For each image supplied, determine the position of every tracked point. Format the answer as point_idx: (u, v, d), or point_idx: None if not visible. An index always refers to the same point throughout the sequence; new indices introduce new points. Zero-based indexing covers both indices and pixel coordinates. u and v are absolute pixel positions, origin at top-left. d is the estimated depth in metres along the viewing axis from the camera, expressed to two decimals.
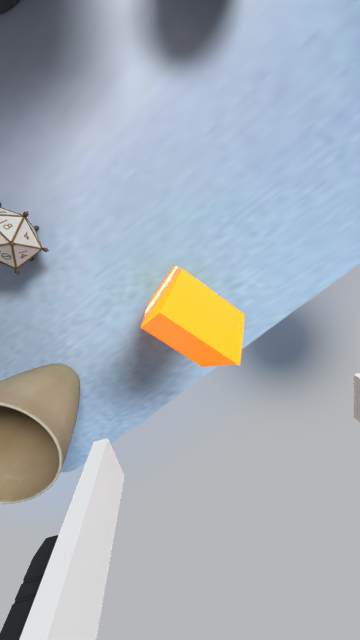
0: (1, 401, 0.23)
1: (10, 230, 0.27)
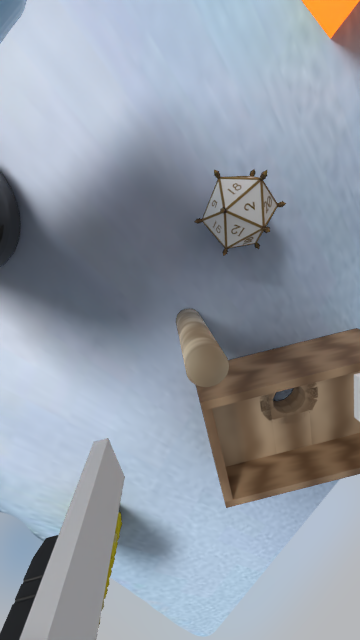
0: None
1: (241, 183, 0.21)
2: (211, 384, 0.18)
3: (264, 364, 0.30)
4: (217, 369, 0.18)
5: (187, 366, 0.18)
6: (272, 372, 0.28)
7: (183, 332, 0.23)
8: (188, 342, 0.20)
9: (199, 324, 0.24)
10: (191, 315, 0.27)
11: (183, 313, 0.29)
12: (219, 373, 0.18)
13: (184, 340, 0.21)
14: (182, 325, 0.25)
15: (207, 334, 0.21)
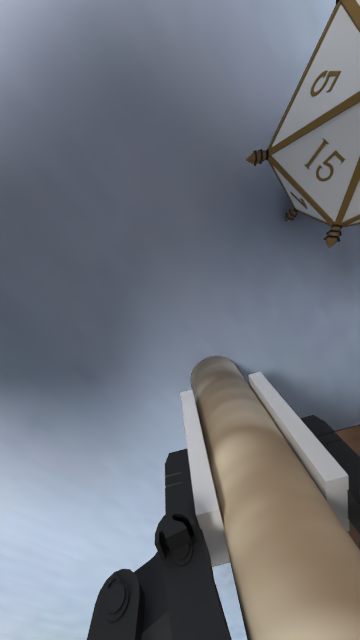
0: None
1: None
2: None
3: None
4: None
5: None
6: None
7: (227, 474, 0.08)
8: (278, 616, 0.05)
9: (271, 445, 0.08)
10: (231, 387, 0.12)
11: (208, 373, 0.14)
12: None
13: (244, 548, 0.06)
14: (215, 426, 0.10)
15: (340, 547, 0.05)
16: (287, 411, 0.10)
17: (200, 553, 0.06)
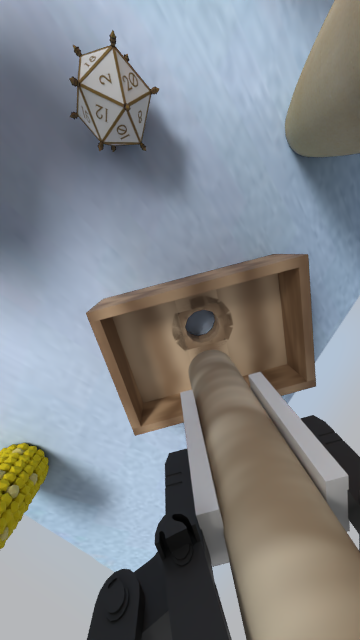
0: None
1: (97, 55, 0.20)
2: None
3: (168, 285, 0.29)
4: None
5: None
6: (170, 287, 0.27)
7: (218, 446, 0.09)
8: (254, 544, 0.06)
9: (257, 422, 0.09)
10: (224, 376, 0.13)
11: (204, 364, 0.15)
12: None
13: (230, 500, 0.07)
14: (209, 409, 0.11)
15: (307, 496, 0.07)
16: (288, 411, 0.10)
17: (200, 553, 0.06)
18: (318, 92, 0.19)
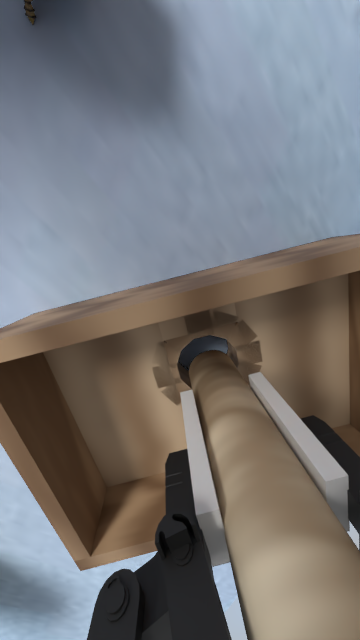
0: None
1: None
2: None
3: (144, 290, 0.15)
4: None
5: None
6: (142, 295, 0.13)
7: (219, 447, 0.09)
8: (255, 545, 0.06)
9: (258, 423, 0.09)
10: (225, 377, 0.13)
11: (205, 365, 0.15)
12: None
13: (231, 501, 0.07)
14: (210, 410, 0.11)
15: (309, 497, 0.07)
16: (287, 411, 0.10)
17: (200, 553, 0.06)
18: None
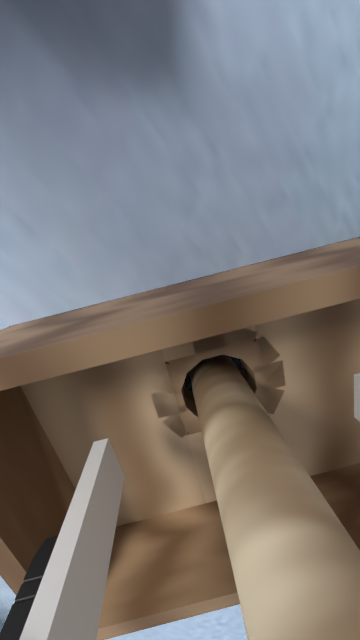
0: None
1: None
2: None
3: (141, 300, 0.12)
4: None
5: None
6: (137, 310, 0.10)
7: (217, 439, 0.09)
8: (250, 526, 0.06)
9: (254, 416, 0.10)
10: (223, 373, 0.13)
11: (204, 362, 0.15)
12: None
13: (228, 488, 0.08)
14: (208, 404, 0.11)
15: (300, 483, 0.07)
16: None
17: None
18: None
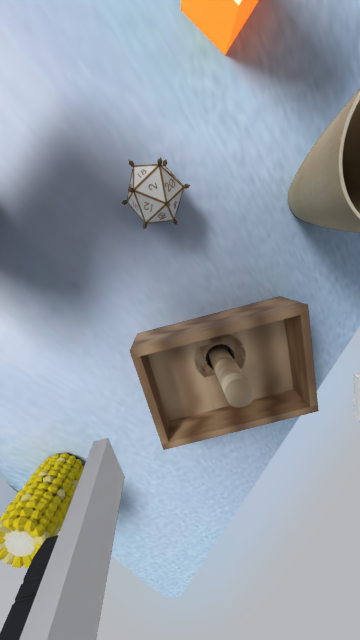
0: (347, 115, 0.19)
1: (147, 169, 0.27)
2: (242, 405, 0.28)
3: (193, 325, 0.36)
4: (247, 396, 0.27)
5: (227, 394, 0.27)
6: (194, 328, 0.33)
7: (218, 366, 0.33)
8: (225, 376, 0.29)
9: (229, 360, 0.33)
10: (221, 350, 0.37)
11: (214, 347, 0.39)
12: (248, 398, 0.27)
13: (221, 373, 0.31)
14: (216, 359, 0.35)
15: (237, 369, 0.30)
16: None
17: None
18: (310, 195, 0.25)
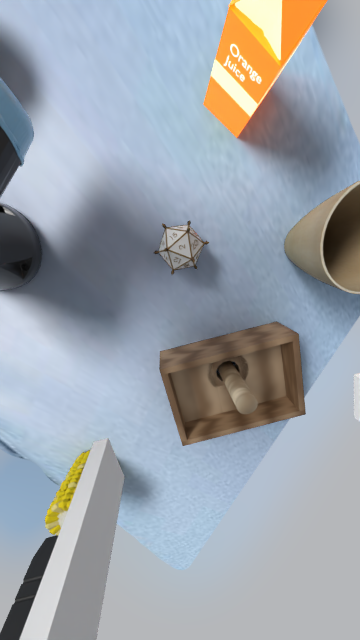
0: (326, 218, 0.27)
1: (177, 233, 0.35)
2: (248, 412, 0.37)
3: (207, 346, 0.44)
4: (252, 405, 0.36)
5: (237, 404, 0.36)
6: (209, 350, 0.42)
7: (228, 380, 0.41)
8: (234, 389, 0.38)
9: (237, 375, 0.42)
10: (229, 366, 0.45)
11: (223, 363, 0.47)
12: (252, 407, 0.36)
13: (231, 387, 0.40)
14: (225, 374, 0.44)
15: (244, 384, 0.39)
16: None
17: None
18: (301, 257, 0.34)
